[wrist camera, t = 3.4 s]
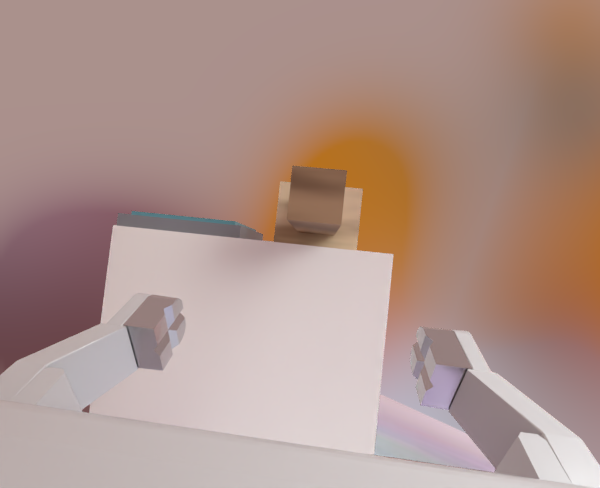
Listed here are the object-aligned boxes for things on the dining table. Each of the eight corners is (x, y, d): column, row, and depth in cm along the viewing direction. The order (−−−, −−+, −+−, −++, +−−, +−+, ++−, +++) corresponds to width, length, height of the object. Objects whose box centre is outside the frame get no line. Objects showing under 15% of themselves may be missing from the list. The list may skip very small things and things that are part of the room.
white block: (352, 447, 38) (370, 255, 39) (366, 534, 26) (393, 254, 27) (151, 417, 40) (173, 234, 41) (79, 485, 28) (113, 225, 29)
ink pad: (261, 243, 39) (263, 231, 40) (239, 238, 28) (241, 221, 29) (172, 234, 40) (173, 222, 40) (116, 225, 29) (118, 209, 29)
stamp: (375, 248, 19) (384, 154, 19) (250, 235, 20) (260, 144, 20) (348, 252, 37) (353, 203, 37) (283, 245, 38) (288, 197, 38)
